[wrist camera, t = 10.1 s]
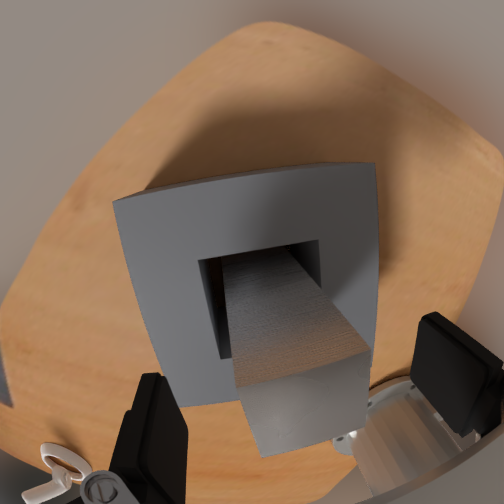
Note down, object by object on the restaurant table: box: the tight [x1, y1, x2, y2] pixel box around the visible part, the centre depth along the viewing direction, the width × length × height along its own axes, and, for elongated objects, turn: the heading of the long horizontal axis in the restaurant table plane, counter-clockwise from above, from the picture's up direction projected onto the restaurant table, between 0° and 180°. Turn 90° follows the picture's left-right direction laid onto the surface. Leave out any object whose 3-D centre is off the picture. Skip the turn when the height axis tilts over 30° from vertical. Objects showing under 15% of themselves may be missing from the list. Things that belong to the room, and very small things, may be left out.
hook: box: [22, 443, 92, 504], centre depth 21 cm, size 8×12×7 cm
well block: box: [113, 162, 379, 408], centre depth 17 cm, size 12×12×6 cm
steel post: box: [221, 245, 371, 458], centre depth 13 cm, size 4×4×13 cm
